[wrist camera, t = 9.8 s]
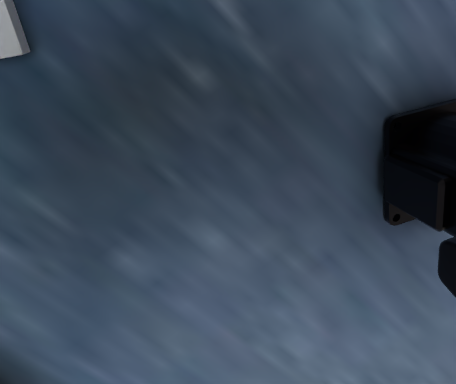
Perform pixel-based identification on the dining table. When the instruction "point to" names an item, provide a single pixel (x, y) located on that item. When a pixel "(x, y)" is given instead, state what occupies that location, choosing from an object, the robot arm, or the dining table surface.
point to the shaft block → (11, 31)
